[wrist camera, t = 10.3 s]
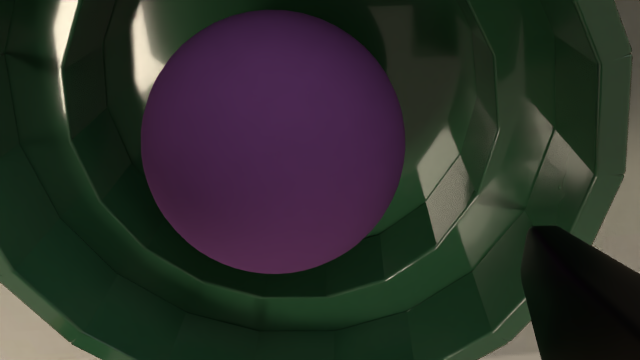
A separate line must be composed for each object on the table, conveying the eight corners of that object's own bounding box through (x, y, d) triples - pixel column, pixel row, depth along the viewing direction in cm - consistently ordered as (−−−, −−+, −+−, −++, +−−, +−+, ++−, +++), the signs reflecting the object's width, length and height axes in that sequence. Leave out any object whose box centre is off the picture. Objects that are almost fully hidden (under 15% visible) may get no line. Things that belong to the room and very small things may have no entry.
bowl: (506, 276, 19) (562, 410, 14) (112, 279, 20) (36, 407, 15) (587, -220, 12) (753, -294, 7) (-29, -181, 13) (-258, -223, 8)
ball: (390, 188, 16) (415, 331, 11) (199, 192, 16) (134, 334, 11) (395, -17, 13) (433, 44, 8) (163, -7, 14) (53, 58, 8)
